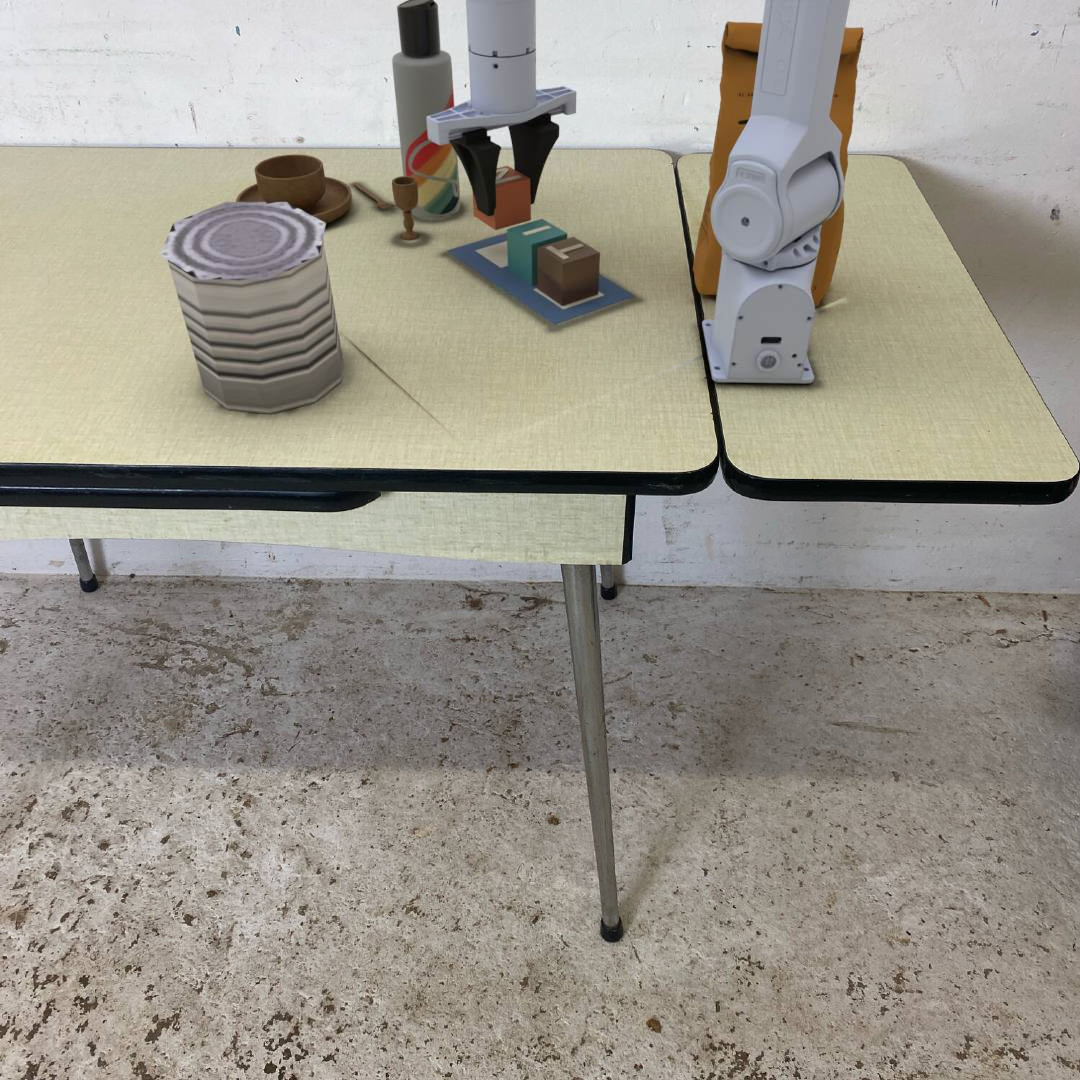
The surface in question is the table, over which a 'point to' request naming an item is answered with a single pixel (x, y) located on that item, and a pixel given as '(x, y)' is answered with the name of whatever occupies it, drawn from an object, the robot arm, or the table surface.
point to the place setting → (321, 190)
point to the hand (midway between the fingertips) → (506, 206)
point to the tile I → (529, 247)
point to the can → (257, 304)
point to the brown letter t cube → (568, 271)
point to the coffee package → (732, 120)
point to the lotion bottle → (425, 108)
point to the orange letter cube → (508, 200)
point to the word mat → (493, 265)
